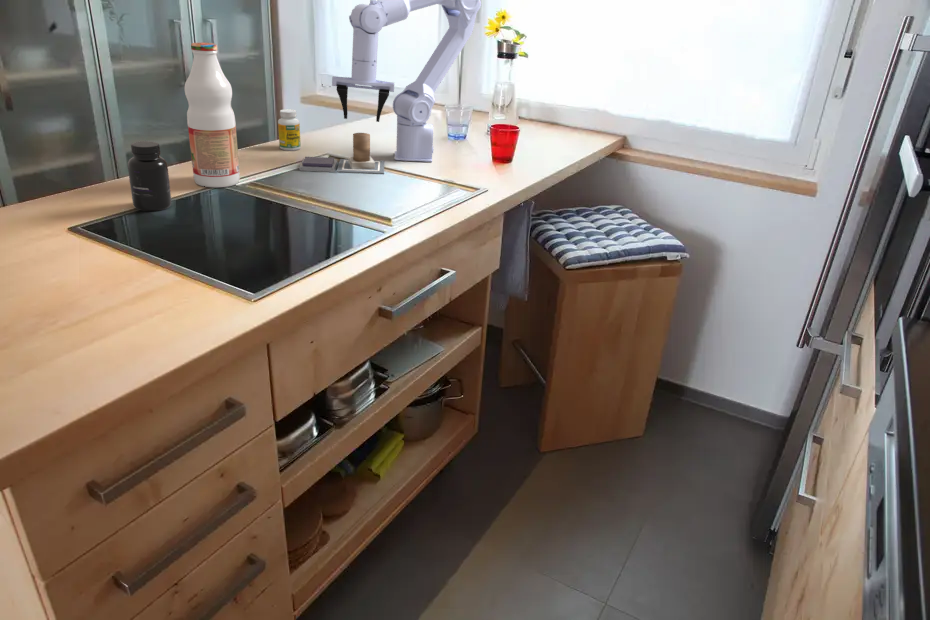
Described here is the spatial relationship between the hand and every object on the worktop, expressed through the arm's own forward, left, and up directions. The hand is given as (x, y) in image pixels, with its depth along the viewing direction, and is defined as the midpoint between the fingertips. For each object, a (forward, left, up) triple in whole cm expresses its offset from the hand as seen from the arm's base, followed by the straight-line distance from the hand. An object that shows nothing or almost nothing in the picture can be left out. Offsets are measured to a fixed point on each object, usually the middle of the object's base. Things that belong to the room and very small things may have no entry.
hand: (361, 119), depth 165 cm
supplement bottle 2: (+19, -10, -11) cm, 24 cm away
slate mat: (0, +5, -10) cm, 11 cm away
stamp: (0, +5, -10) cm, 11 cm away
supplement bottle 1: (+38, +39, -11) cm, 55 cm away
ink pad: (+10, +7, -10) cm, 16 cm away
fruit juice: (+30, +22, -11) cm, 38 cm away
